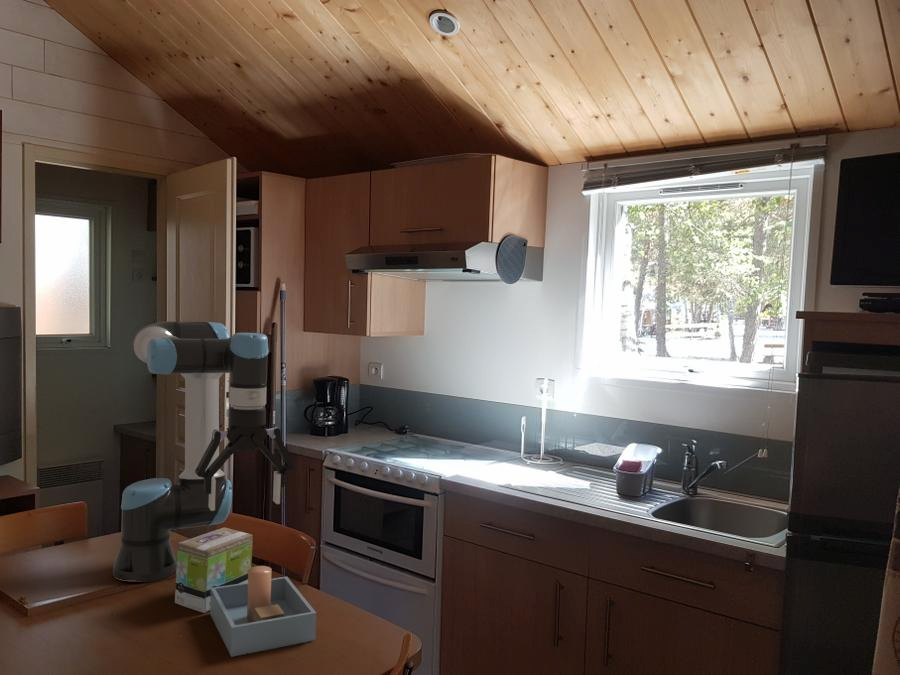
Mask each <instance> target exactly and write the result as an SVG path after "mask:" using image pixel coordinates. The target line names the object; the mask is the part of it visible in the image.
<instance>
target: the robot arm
mask: <svg viewBox="0 0 900 675" xmlns="http://www.w3.org/2000/svg"><path fill="white" fill-rule="evenodd" d="M268 341H269V340H268V336H267V335H266V334H264V333H260V332H259V333H257V332H236V333H233V334H232V335H231V336H230V332H229V331H228V329H227V327H226V326H225V325H224V324H223V323H221V322H212V321H211V322H210V321H172V320H171V321H159V322H155V323H152V324H147V325H146V326H144V327H142V328H140V329H139V330H138V331H137V333H136V334H135V336H134V338H133V340H132V350H133V353H134V355H135V356H136V357H137V358H138V360H139V361H141V362H143V363H145V364H147V370H148V371H149V373H150V374H156V375H157V374H158V375H159V374H160V375H174V374H178V375H179V374H180V375H181V376H182V377H183V378H184V380H185V381H184V382H185V383H184V386H185V388H184V389H185V390H184V391H185V392H184V394H185V395H184V396H185V398H184V408H185V411H184V412H185V414H184V426H185V427H184V433H185V434H184V435H185V436H184V470H183V471H182V472H181V473H180V474H179V476H178V483H172V481H171V479H169V478H165V477H161V478H159V477H154V478H148V479H144V480H143V479H142V480H138V481H136V482H133V483H131V484H130V485H128V486H126V487H125V489H124V490H123V491H122V494H121V495H122V498H121V505H120V508H121V529H120V530H121V531H120V539H121V540H120V546H119V549H118V551H117V554H116V558H115V560H114V562H113V566H112V577H113V576H114V577H116V578H118V579H122V580H136V581H141V582H144V583H150V582H156V581H160V580H164V579H165V578H167V577H170V576H172V575H174V574H175V573H176V569H177V556H176V555H175V552H174V549H173V545H172V542H171V530H172V531H173V530H181V529H188V528H189V529H190V528H199V527H210V526H213V525H214V526H215V525H219V524H222V523H224V522H225V521H226V520H227V519H228V516H229V514H230V511H231V508H232V507H231V506H232V499H233V489H232V488H233V487H232V482H231V480H229V479H227V478H226V476H225V474H226V473H225V472H224V471H222V469H221V468H222V467H223V465H225V463H226V462H227V461H228V460H229V458H230V457H231V456H232V455H233V454H235V453H236V451H238V452H246V451H251V452H252V451H256V450H257V449H259V450H260V451H261V452H262V453H263V455H264V456H265V457H266V458H267V459H268V460H269V462H270V463H271V464H272V465H273V466H274V467H275V469H277V470H275V471H273V490H272V501H273V502H274V503H275V504H276V505H280V503H281V488H285V486H286V474H287V473H288V471H290V470H291V471H292V470H294V469H295V465H294V463H293V461H292V458H291V456H290V455H289V452H288V450H287V448H286V446H285V444H284V442H283V440H282V433H281V429H280V428H279V427H277V426H273V427H272V428H267V426H266V421H267V418H266V417H267V409H266V407H265V406H266V405H267V384H268V383H267V382H268V358H269V350H270V349H269V342H268ZM224 374H229V399H228V401H229V402H228V404H229V405H230V406H231V407H230V408H229V409H228V428H227V430H226V431H224V430H220V378H221V377H222V376H223V375H224ZM267 436H269V438H271V439H272V440H273V442H274V444H275V446H276V448H277V451H278V452H279V455H280V457H281V459H282V461H283V463H284V464H282V463H281V462H280V460H279V459H277V457H276V456H275V455H274V454H273V453H272V452H271V450H270V449H269V448H268V446H266V444H265V443H264V441H265V439H267ZM225 438H227V440H228V441H229V442H228V443H227V444H226V446H225V447H224V449H223V450H221V453H220V443H221V442H223V441H224V439H225ZM174 572H175V573H174ZM114 577H113V578H114Z"/></svg>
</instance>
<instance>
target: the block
mask: <svg viewBox="0 0 900 675" xmlns="http://www.w3.org/2000/svg"><path fill="white" fill-rule="evenodd" d="M280 617H285V613H284V612H283V611H282V609H281V608H280V607H279V605H278V604H276V605H271V606H265V607H259V608H255V614H254V622H257V621H263V620H269V619H274V618H280Z"/></svg>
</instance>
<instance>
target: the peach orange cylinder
mask: <svg viewBox="0 0 900 675" xmlns="http://www.w3.org/2000/svg"><path fill="white" fill-rule="evenodd" d="M272 573H273V572H272V568H271V567H270V566H266V565H257V566H251V568H250V569H249V570H248V597H247V621H248V622H250V623H252V622H254V614H255V608H259V607H265V606H270V605H271V579H272Z"/></svg>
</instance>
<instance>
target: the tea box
mask: <svg viewBox="0 0 900 675" xmlns="http://www.w3.org/2000/svg"><path fill="white" fill-rule="evenodd" d="M253 537H254V536H253V534H251V533H248V532H247V533H246V532H243V531H239V530H235V529H232V528H228V527H222V528H221V527H220V528H219V529H214V530H212V531H209V532H207V533H203V534H200V535H198V536H194V537H192V538H188V539H186V540H182V541H179V542H177V552H176V553H177V555H176V561H177V567H176V571H175V591H174V592H175V593H174V604H176V605H178V606H182V607H185V608H188V609H190V610H194V611H197V612H199V613H203V614H205V613H207V612H210V596H211V588H214V587H221V586H227V585H234V584H240V583H247V582H248V570H249V569H250V568H252V560H253V558H252V557H253Z"/></svg>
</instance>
